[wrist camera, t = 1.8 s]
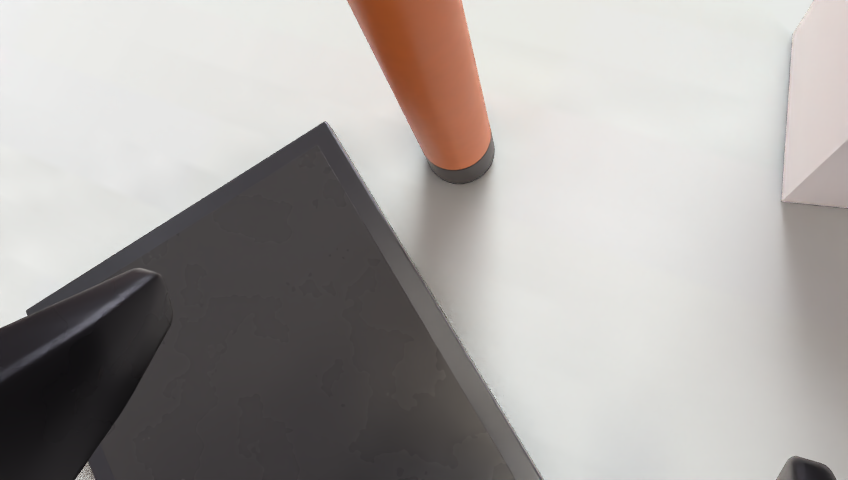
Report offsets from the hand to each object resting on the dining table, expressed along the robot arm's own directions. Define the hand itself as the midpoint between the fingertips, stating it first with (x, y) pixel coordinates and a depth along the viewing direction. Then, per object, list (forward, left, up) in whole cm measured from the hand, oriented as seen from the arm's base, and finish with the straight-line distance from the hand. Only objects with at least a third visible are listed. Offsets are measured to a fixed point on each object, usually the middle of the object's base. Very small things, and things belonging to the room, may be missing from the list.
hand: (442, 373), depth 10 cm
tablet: (-7, +2, -14) cm, 16 cm away
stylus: (+3, +8, -14) cm, 17 cm away
